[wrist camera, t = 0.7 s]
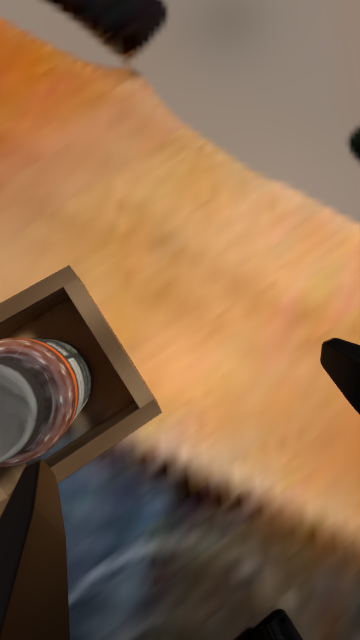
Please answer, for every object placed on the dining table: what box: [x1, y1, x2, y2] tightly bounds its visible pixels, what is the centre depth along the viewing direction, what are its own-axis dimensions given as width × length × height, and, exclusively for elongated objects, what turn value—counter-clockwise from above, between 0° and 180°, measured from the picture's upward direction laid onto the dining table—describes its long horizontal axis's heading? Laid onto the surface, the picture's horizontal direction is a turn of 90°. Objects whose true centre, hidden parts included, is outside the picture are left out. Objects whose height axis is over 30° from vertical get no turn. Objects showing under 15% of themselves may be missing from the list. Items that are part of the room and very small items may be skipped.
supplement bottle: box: [0, 338, 93, 467], centre depth 17 cm, size 6×6×11 cm
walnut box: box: [0, 265, 162, 516], centre depth 21 cm, size 11×11×4 cm
